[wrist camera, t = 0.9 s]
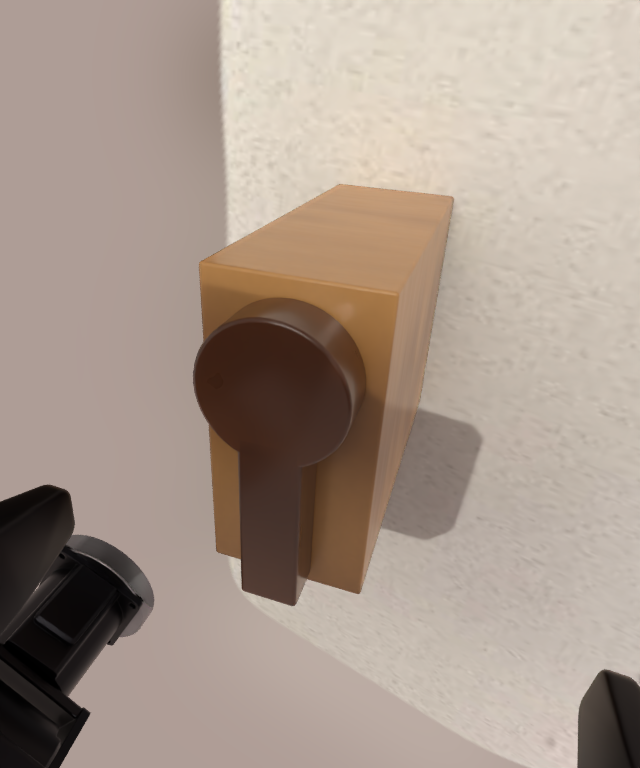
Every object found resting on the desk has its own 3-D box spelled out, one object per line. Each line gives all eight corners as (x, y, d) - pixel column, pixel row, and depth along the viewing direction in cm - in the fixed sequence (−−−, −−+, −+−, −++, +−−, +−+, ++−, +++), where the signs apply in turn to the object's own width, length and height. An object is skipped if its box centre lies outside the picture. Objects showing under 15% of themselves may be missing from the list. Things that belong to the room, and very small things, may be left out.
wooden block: (419, 401, 22) (359, 596, 14) (325, 382, 23) (215, 553, 15) (454, 196, 18) (399, 293, 10) (338, 183, 19) (196, 261, 11)
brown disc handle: (345, 580, 13) (331, 620, 12) (228, 546, 14) (206, 580, 13) (375, 310, 10) (358, 335, 9) (216, 284, 11) (185, 304, 10)
